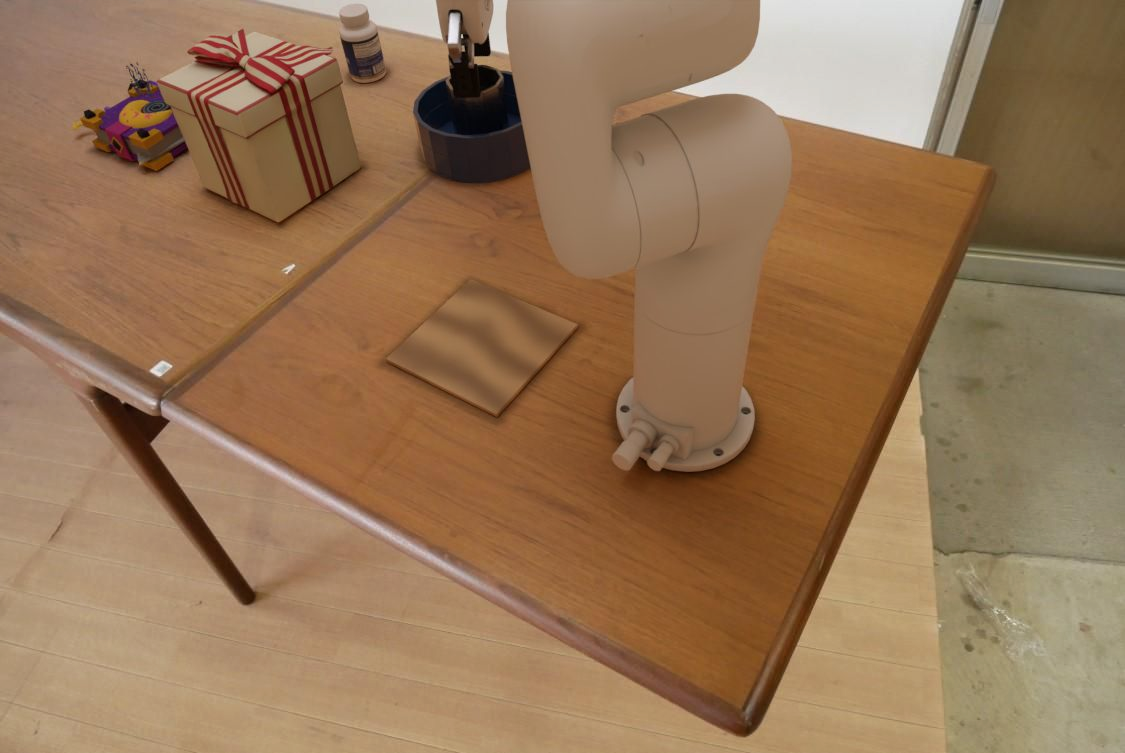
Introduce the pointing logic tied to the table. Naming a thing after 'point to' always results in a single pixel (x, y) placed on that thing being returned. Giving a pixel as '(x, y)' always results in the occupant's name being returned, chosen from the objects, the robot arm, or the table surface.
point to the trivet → (482, 346)
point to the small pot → (480, 105)
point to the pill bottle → (361, 44)
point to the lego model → (137, 126)
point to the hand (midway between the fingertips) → (473, 75)
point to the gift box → (263, 121)
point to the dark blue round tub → (469, 139)
